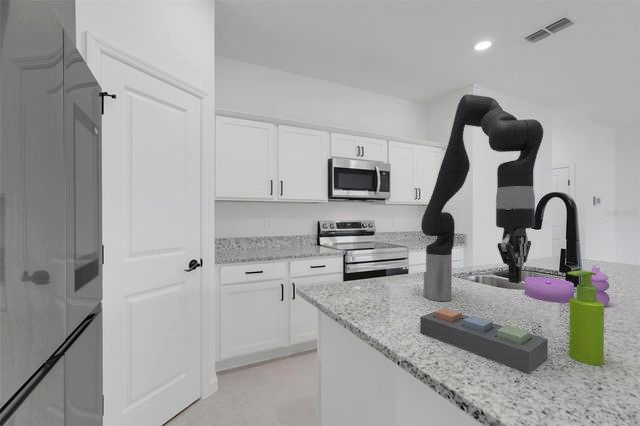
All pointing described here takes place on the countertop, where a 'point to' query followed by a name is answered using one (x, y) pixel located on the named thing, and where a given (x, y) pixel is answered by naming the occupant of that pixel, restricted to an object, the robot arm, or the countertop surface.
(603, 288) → the container set
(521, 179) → the robot arm
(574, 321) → the soap dispenser
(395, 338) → the countertop surface
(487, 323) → the slate blue button
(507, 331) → the sage green button
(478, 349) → the button panel
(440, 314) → the terracotta button
